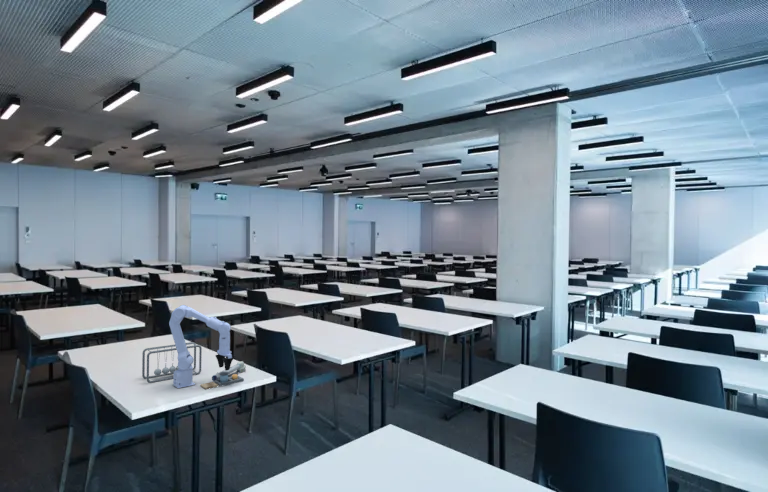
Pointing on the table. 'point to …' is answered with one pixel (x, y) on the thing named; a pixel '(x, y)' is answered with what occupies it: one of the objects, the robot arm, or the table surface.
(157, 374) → the newton's cradle
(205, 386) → the pad
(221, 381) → the cylinder
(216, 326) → the robot arm
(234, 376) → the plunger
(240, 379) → the housing
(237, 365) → the pale blue tube
